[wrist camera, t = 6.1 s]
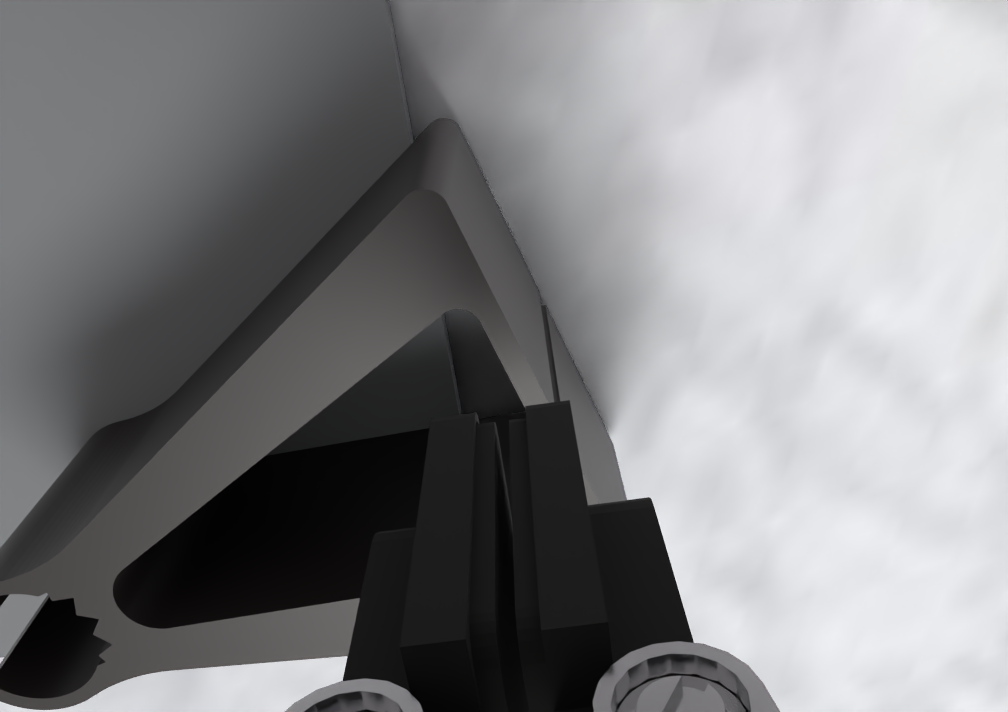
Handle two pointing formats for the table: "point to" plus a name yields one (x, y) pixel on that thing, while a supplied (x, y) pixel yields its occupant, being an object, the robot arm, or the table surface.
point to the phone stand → (285, 476)
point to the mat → (179, 212)
